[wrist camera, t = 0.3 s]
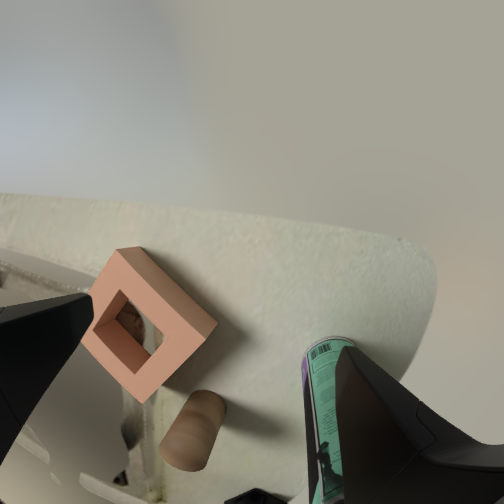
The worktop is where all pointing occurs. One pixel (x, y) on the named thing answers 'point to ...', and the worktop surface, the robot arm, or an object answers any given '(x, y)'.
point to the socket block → (155, 309)
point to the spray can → (322, 420)
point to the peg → (194, 432)
